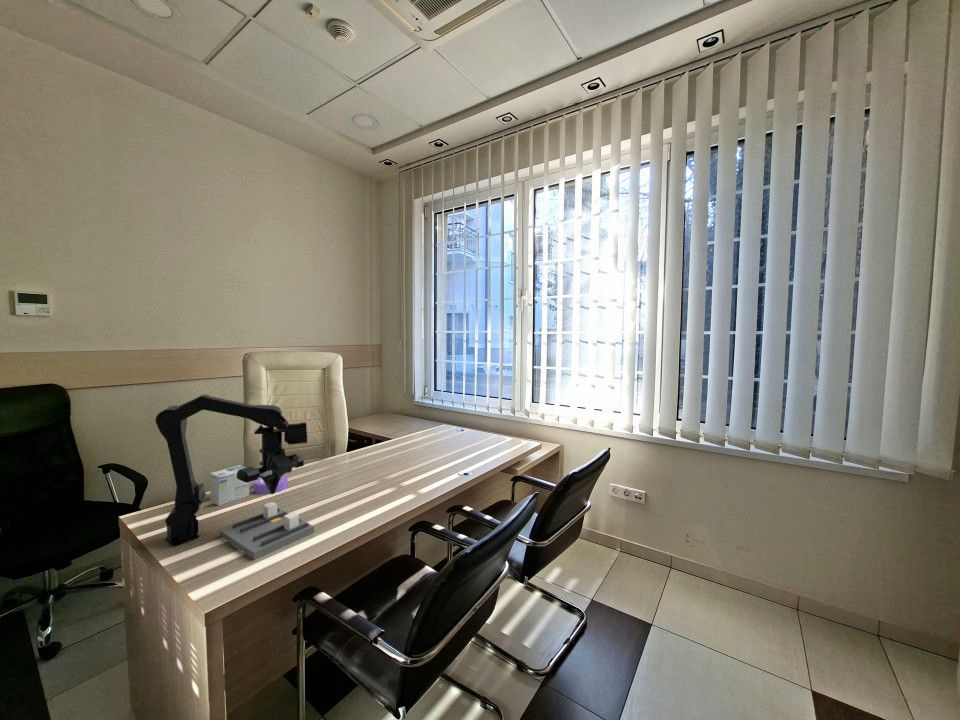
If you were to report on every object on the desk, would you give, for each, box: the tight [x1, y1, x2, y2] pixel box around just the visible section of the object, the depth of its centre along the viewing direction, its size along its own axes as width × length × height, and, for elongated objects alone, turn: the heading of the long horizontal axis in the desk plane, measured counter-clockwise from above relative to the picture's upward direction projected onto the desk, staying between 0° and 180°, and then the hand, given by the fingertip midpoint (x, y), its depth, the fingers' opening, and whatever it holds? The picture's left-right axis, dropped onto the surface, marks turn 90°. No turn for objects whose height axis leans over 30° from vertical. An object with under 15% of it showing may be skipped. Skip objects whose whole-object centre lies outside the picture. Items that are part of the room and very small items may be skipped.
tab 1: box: [262, 501, 279, 519], centre depth 123 cm, size 3×3×4 cm
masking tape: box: [253, 474, 289, 495], centre depth 150 cm, size 12×12×4 cm
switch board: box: [219, 507, 315, 561], centre depth 117 cm, size 18×20×3 cm
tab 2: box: [284, 511, 300, 530], centre depth 117 cm, size 3×3×4 cm
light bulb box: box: [209, 464, 250, 507], centre depth 139 cm, size 11×7×11 cm, turn 149°
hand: (272, 493), depth 122 cm, fingers closed
